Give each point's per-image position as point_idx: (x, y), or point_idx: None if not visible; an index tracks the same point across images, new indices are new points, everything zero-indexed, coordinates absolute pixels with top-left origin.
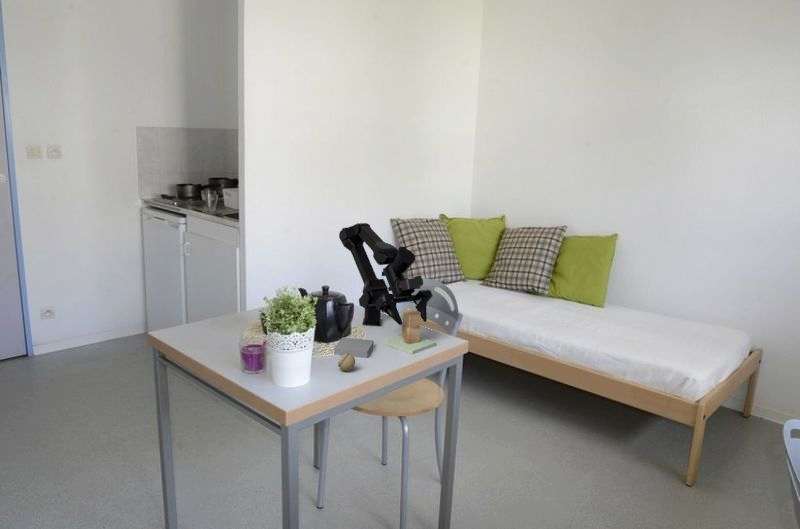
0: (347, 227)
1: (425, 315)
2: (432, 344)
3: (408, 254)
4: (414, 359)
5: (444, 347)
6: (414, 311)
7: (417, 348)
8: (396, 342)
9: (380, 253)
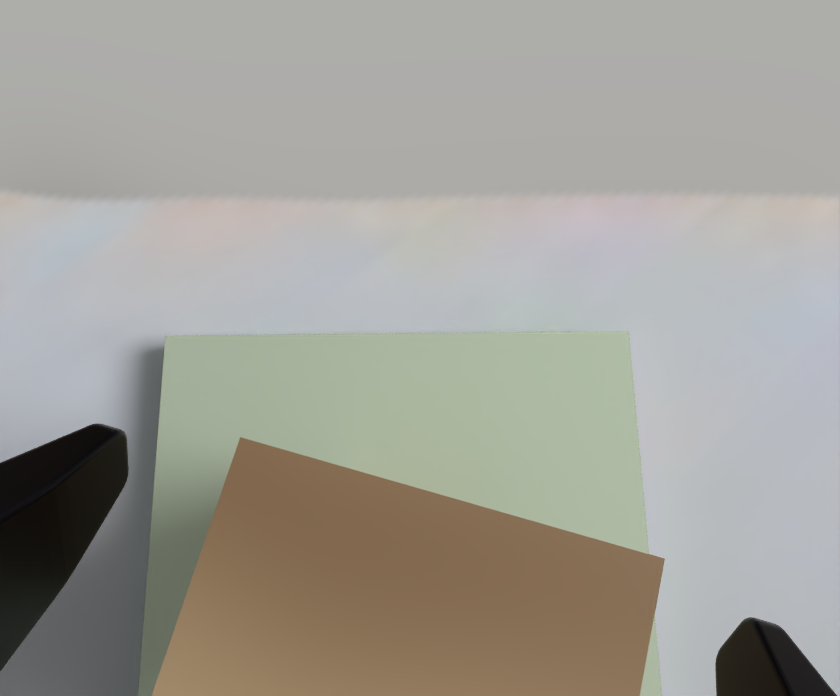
0: None
1: (13, 482)
2: (246, 336)
3: None
4: (703, 234)
5: (167, 244)
6: (317, 661)
7: (518, 347)
8: None
9: None
